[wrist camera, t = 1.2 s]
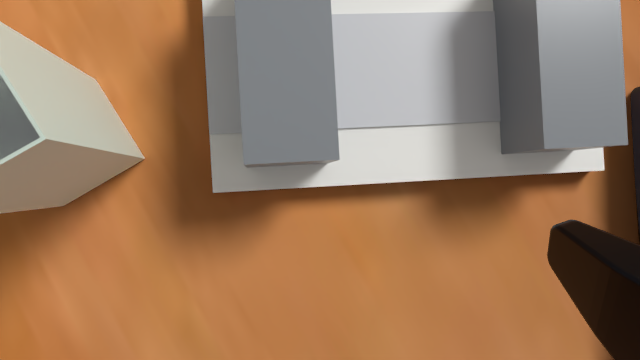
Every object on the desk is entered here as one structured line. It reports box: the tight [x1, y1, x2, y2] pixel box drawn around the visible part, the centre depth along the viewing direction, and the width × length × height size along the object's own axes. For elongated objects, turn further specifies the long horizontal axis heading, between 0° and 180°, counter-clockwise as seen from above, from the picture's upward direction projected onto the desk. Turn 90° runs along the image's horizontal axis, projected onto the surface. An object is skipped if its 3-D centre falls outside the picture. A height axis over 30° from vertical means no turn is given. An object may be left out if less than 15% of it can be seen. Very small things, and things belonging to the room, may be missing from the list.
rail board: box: [202, 0, 628, 193], centre depth 21 cm, size 18×10×4 cm, turn 93°
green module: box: [0, 22, 145, 214], centre depth 17 cm, size 4×4×10 cm
